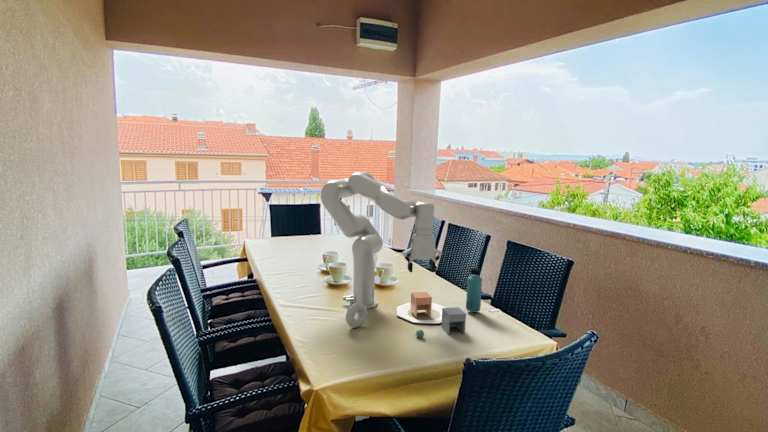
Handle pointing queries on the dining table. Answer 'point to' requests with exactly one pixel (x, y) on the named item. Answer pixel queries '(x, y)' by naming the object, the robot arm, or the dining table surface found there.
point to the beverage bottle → (474, 291)
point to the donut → (351, 314)
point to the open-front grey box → (453, 319)
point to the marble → (419, 333)
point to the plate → (403, 313)
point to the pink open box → (421, 302)
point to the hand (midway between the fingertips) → (421, 271)
